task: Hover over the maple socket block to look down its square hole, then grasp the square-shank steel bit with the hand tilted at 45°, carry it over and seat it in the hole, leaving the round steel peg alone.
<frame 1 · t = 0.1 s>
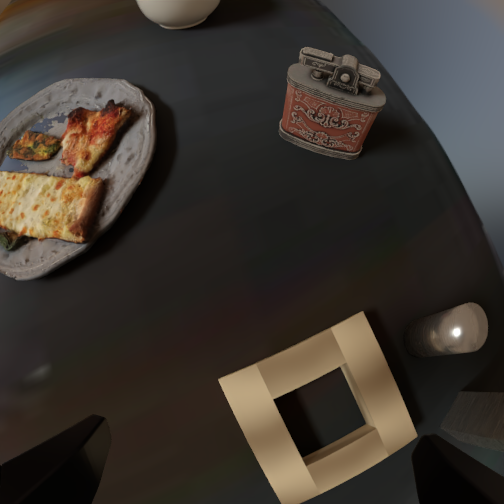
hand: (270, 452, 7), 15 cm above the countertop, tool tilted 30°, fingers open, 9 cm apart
socket block: (320, 411, 21), on the countertop
food plate: (50, 170, 28), on the countertop
square bit: (461, 417, 20), on the countertop
lidded bowl: (183, 19, 36), on the countertop
lighter: (319, 140, 29), on the countertop
round peg: (419, 338, 23), on the countertop
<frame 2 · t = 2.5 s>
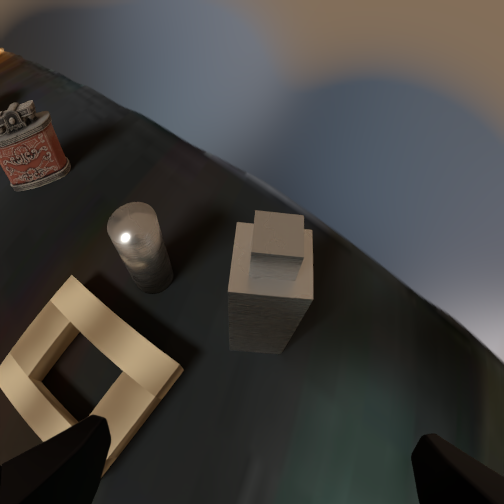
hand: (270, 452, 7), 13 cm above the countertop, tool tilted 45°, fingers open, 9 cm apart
socket block: (83, 380, 20), on the countertop
square bit: (257, 328, 23), on the countertop
lighter: (41, 177, 30), on the countertop
round peg: (153, 275, 24), on the countertop
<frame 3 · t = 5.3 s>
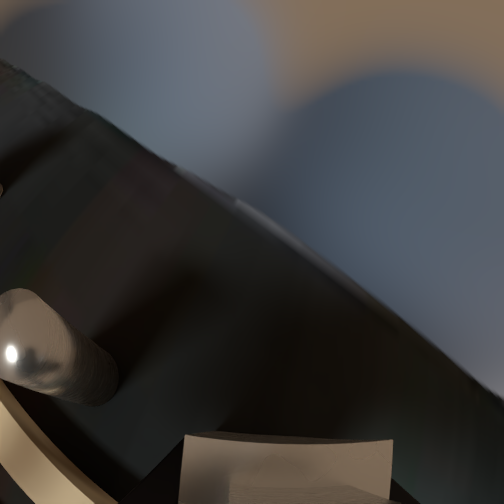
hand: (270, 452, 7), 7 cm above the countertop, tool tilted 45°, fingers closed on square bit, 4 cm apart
square bit: (251, 469, 12), on the countertop, touching gripper
round peg: (90, 376, 14), on the countertop
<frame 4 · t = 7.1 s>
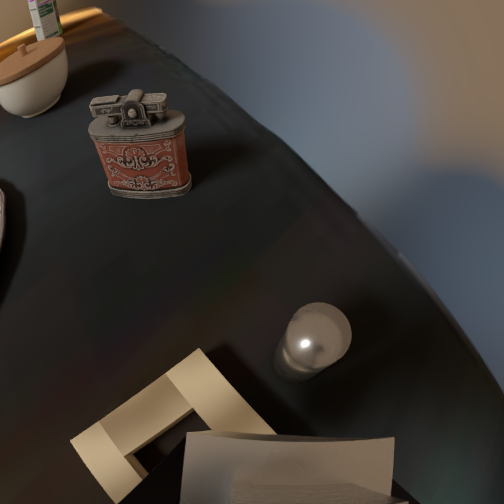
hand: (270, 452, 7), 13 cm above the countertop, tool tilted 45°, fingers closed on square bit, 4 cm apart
socket block: (191, 464, 17), on the countertop
square bit: (252, 468, 12), point 6 cm above the countertop, touching gripper
lidded bowl: (40, 105, 37), on the countertop
lighter: (150, 186, 29), on the countertop
syrup box: (50, 38, 56), on the countertop
round peg: (294, 361, 21), on the countertop
when the fingers open (8 cm above the countertop, at t = 8.9 s): square bit drops 1 cm, resting in socket block.
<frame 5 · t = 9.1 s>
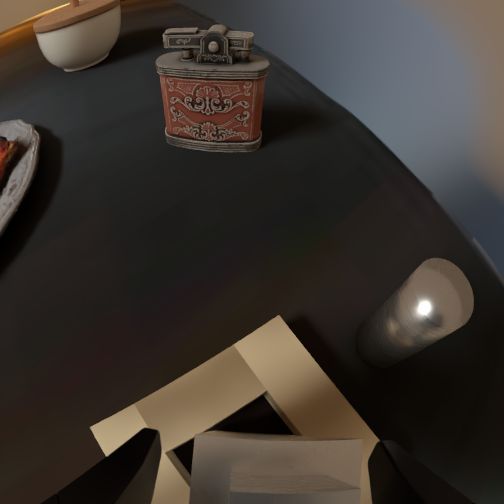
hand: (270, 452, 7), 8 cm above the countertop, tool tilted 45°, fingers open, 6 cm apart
socket block: (250, 466, 13), on the countertop
square bit: (250, 465, 13), resting in socket block
lidded bowl: (86, 61, 35), on the countertop
lighter: (212, 140, 26), on the countertop
round peg: (380, 342, 17), on the countertop
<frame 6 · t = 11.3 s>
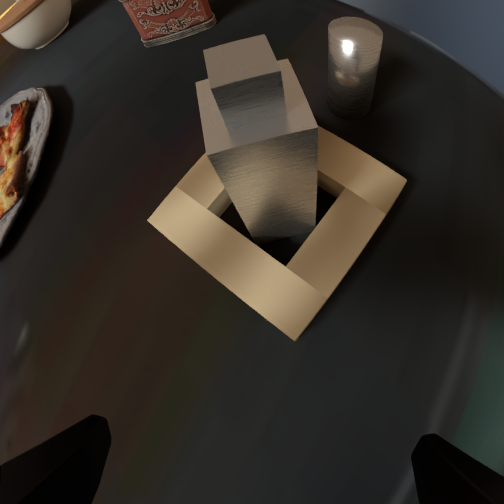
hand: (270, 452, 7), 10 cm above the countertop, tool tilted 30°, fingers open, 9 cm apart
socket block: (279, 211, 20), on the countertop
square bit: (278, 210, 20), resting in socket block
lidded bowl: (52, 35, 35), on the countertop
lighter: (179, 32, 27), on the countertop
round peg: (349, 103, 21), on the countertop
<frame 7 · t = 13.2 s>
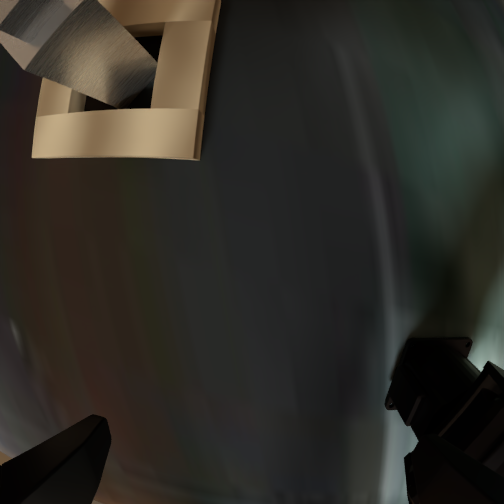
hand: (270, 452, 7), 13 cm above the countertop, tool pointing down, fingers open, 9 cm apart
socket block: (126, 74, 17), on the countertop
square bit: (125, 74, 17), resting in socket block
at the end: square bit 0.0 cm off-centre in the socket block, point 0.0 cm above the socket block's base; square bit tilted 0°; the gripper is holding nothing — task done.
